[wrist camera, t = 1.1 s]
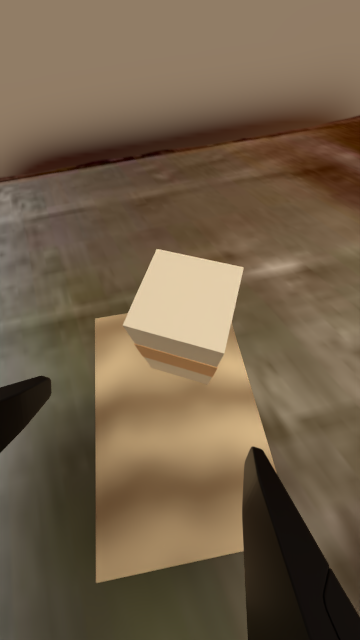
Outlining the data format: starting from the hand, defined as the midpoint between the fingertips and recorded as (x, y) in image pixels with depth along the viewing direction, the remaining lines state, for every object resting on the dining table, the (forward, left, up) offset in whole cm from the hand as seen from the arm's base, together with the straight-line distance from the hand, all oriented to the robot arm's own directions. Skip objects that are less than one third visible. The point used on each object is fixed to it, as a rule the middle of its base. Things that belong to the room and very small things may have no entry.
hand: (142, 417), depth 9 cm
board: (+1, -1, -13) cm, 13 cm away
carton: (+6, -3, -11) cm, 12 cm away
